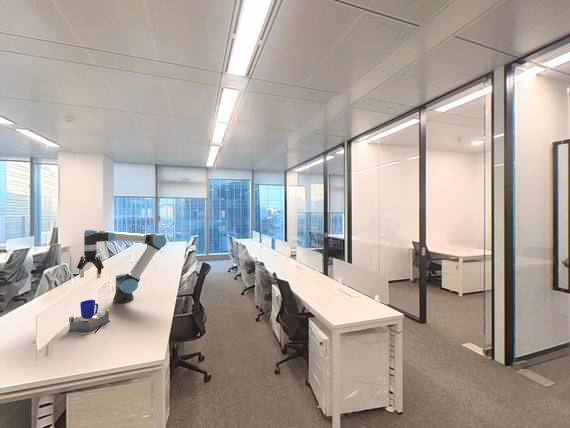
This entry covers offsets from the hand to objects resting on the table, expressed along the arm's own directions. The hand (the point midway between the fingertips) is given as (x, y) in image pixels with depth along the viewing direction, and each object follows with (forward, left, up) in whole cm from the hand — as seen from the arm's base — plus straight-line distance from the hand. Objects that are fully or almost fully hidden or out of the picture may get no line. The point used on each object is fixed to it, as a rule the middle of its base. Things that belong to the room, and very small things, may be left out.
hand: (90, 277), depth 196 cm
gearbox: (+21, +19, -27) cm, 39 cm away
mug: (+21, +19, -21) cm, 35 cm away
